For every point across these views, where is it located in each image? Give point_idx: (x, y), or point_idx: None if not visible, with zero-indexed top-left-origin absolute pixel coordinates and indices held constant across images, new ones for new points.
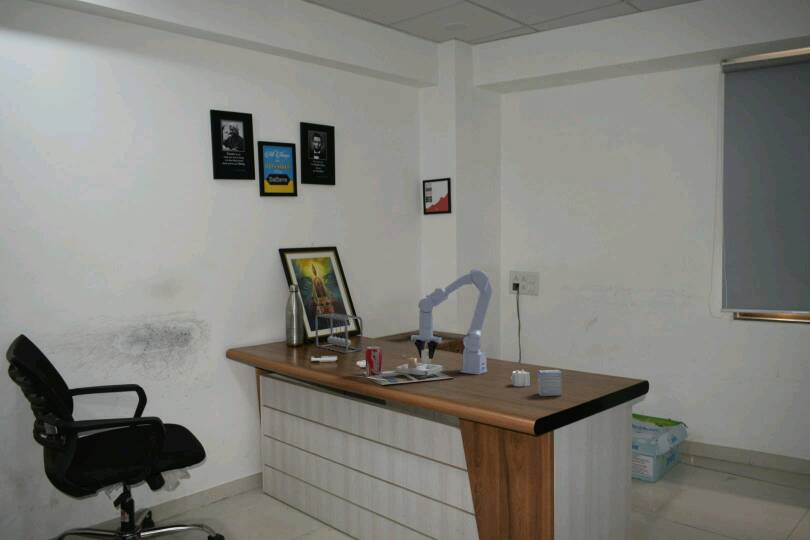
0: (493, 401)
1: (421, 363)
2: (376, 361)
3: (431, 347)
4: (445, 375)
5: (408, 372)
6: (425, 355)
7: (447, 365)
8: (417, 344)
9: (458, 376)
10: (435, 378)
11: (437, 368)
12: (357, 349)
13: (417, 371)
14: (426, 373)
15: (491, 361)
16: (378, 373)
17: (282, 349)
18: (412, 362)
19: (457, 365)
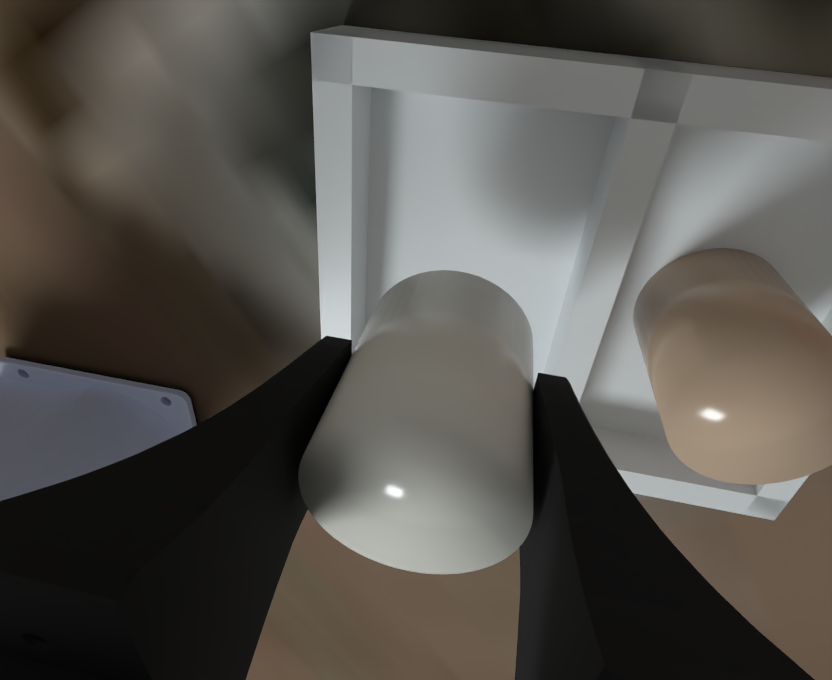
0: None
1: (630, 483)
2: None
3: (107, 468)
4: (211, 236)
5: (709, 70)
6: (392, 350)
7: (444, 581)
8: (652, 628)
9: (75, 241)
10: (189, 4)
11: (324, 325)
12: None
13: (510, 50)
14: (326, 29)
15: (257, 675)
16: None
17: None
18: (720, 322)
19: (373, 588)
